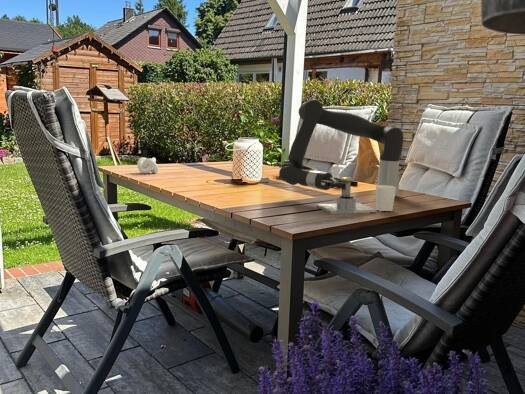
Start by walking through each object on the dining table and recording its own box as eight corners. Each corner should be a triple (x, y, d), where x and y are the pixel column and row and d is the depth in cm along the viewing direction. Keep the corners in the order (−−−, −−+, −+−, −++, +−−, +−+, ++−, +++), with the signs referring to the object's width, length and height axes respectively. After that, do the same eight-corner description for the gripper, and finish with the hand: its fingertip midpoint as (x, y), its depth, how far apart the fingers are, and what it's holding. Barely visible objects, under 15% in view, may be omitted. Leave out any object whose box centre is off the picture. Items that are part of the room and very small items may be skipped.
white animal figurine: (140, 174, 278) (140, 159, 277) (134, 172, 288) (134, 156, 287) (159, 174, 284) (159, 158, 282) (153, 171, 294) (153, 156, 292)
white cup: (385, 213, 199) (387, 188, 197) (370, 209, 205) (372, 185, 203) (397, 211, 204) (399, 187, 202) (382, 207, 210) (384, 184, 208)
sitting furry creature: (335, 184, 268) (336, 162, 266) (346, 187, 261) (347, 164, 259) (322, 185, 263) (323, 163, 261) (332, 188, 256) (334, 165, 254)
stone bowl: (267, 174, 296) (269, 159, 295) (303, 176, 307) (305, 162, 306) (287, 180, 274) (288, 163, 273) (324, 182, 285) (326, 166, 284)
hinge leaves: (359, 205, 212) (360, 193, 211) (375, 212, 199) (376, 200, 198) (316, 206, 206) (317, 194, 205) (330, 214, 193) (331, 201, 192)
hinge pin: (348, 205, 205) (348, 176, 203) (353, 207, 201) (353, 178, 199) (338, 206, 204) (338, 177, 202) (343, 208, 200) (343, 178, 198)
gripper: (309, 172, 204) (342, 177, 194) (329, 170, 215) (361, 174, 204) (308, 190, 206) (340, 196, 195) (328, 187, 216) (360, 192, 205)
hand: (351, 185), depth 199 cm, fingers open, 8 cm apart
